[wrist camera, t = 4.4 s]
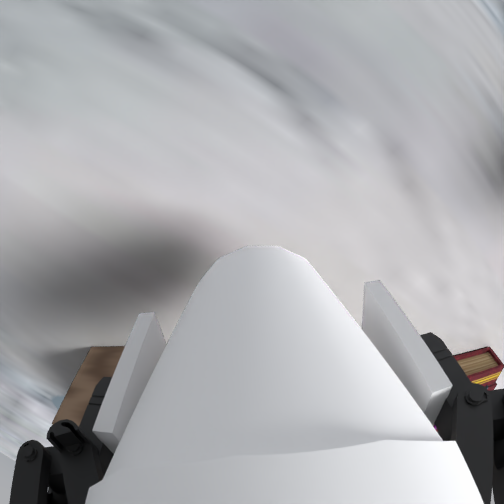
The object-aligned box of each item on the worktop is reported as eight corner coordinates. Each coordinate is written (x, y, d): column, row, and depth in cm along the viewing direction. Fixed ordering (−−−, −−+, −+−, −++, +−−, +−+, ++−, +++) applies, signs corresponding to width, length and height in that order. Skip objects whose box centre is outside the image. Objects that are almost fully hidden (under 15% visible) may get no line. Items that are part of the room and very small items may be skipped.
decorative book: (489, 342, 28) (509, 367, 24) (446, 420, 35) (457, 444, 30) (419, 358, 28) (438, 390, 24) (382, 437, 35) (391, 465, 30)
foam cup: (380, 313, 16) (490, 529, 4) (246, 391, 18) (253, 597, 6) (281, 167, 12) (509, 544, 1) (128, 288, 15) (16, 545, 3)
